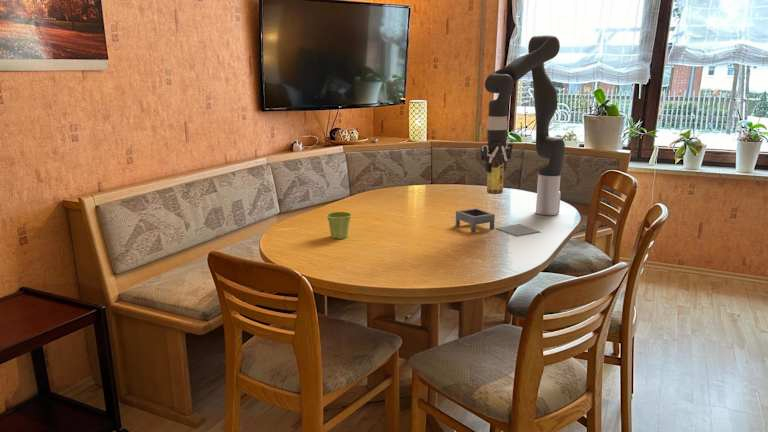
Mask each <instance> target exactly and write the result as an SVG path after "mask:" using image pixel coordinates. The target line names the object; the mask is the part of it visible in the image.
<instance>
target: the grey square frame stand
mask: <svg viewBox="0 0 768 432" xmlns="http://www.w3.org/2000/svg"><path fill="white" fill-rule="evenodd" d="M495 215H496V214H495V213H492V212H489V211H486V210H483V209H480V208H476V207H475V208H469V209H464V210H463V209H461V210H456V211H455V226H456V227H460V226H461V222H463V223H467V224H470V225H471V226H470V232H471V233H476V230H477V227H476V226H477V225H483V224H489V229H490V230H494V229H495V220H496V219H495Z"/></svg>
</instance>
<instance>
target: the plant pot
mask: <svg viewBox="0 0 768 432" xmlns="http://www.w3.org/2000/svg"><path fill="white" fill-rule="evenodd" d="M325 217H326V219H327V221H328V225H329V231H330V236H331V238H332V239H337V240H341V239H342V240H343V239H346V238H347V237H348V235H349V227H350V220H351V218H352V213H350V212H348V211H334V212H333V211H332V212H329V213H327V214H326V215H325Z"/></svg>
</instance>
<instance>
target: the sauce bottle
mask: <svg viewBox="0 0 768 432" xmlns="http://www.w3.org/2000/svg"><path fill="white" fill-rule="evenodd" d="M496 146H498V147H499V148H498V151H497V152H496V154H495V157H494V158H493V159H492V161H491V163H492V166H491V173H488V172H486V174H487V176H486V192H487V194H489V195H500V194H503V193H504V175H505V174H504V172H505V171H504V161H503V158H502V155H501V148H500V147H501V146H502V143H496Z"/></svg>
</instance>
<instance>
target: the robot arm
mask: <svg viewBox="0 0 768 432" xmlns="http://www.w3.org/2000/svg"><path fill="white" fill-rule="evenodd" d="M560 47H561V46H560V40H559V38H558V37H557V36H556V35H553V34H551V35H550V34H548V35H547V34H546V35H545V34H544V35H534V36H532V37H531V38H530V39H529V42H528V46H527V48H528V50H527V51H528V53H526V54H524V55H522V56H519V57H517V58H515V59H514V60H512V61H511V62H510V63H509V64H507V65H506V66H504V67H502V68H500V69H497V70H495V71H494V72H491V73H490V74H489V75H488V76H487V77H486V79H485V81H484V89H485V90H486V91H487V93H490V94H498V95H497V98H496V99H493V100H491V101H489V103H488V118H487V125H486V127H487V129H486V130H487V131H486V141H487V144H486V145H480V160H481V162H484V163H485V172H486V173H487V172H488V173H491V166H492V163H491V161H492V159H493V158H494V157H495V154H496V152H497V151H498V148H499V147H498V146H496V143H502V146H501V147H500V148H501V155H502V158H503V161H504V172H505V171H506V169H507V162H508V160H511V159H512V154H513V153H512V152H513V146H514V145H513V143H509V142H507V140H508V124H509V122H508V111H509V109H508V108H509V107H508V106H509V102H510V99H511V96H512V94H513V93H512V91H513V89H514V84H515V83H517V82H519V80H520V79H522V78H523V77H525V76H526V75H527V74H528V73H529V72H530V71H531V76H532V87H533V88H532V89H533V100H534V101H533V103H534V111H535V112H534V113H535V114H534V115H535V150H536V155H537V156H538V157H539V158H543V159H547V160H548V159H549V160H548V163H547V164H546V165H542V166H540V167H539V168H538V176H537V188H536V189H537V190H536V202H535V203H536V205H535V213H536V214H538V215H542V216H555V215H558V214H560V208H561V207H560V206H561V191H560V186H561V185H560V184H561V174H562V173H561V172H562V169H563V164H564V158H565V149H566V145H565V141H564V139H563V138H561V137H554V136H550V133H549V127H550V123H551V121H552V119H553V117H554V115H555V113H556V112H557V108H558V93H557V92H558V91H557V88H556V85H555V84H554V82H553V81H552V79H551V78H550V76H549V75H548V73H547V71H546V68H545V64H544V63H546V62H548V61H550V60H553V59H554V58H555V57H557V55H558V54H559V51H560Z"/></svg>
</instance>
